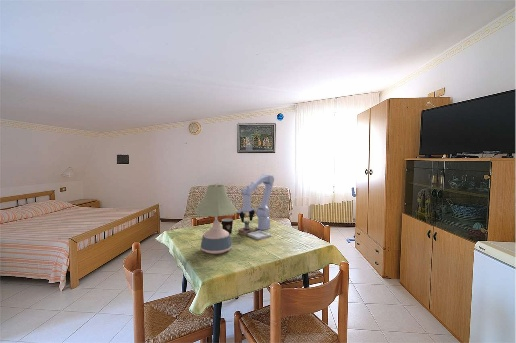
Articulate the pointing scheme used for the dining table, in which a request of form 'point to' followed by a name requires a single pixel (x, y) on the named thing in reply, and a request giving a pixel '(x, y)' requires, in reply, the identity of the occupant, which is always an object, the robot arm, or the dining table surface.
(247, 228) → the pin
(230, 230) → the coffee mug
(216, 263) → the dining table surface
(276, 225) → the dining table surface
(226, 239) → the desk lamp
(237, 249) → the dining table surface
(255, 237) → the tray
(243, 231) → the hitch block
